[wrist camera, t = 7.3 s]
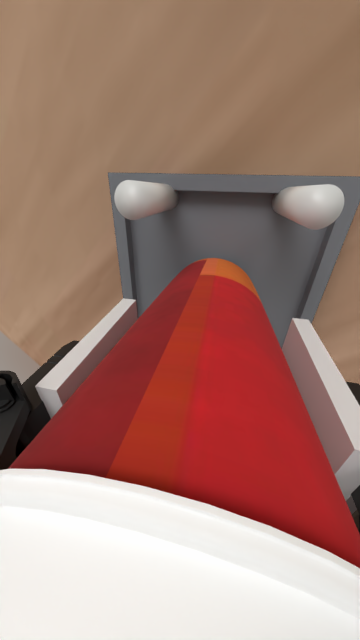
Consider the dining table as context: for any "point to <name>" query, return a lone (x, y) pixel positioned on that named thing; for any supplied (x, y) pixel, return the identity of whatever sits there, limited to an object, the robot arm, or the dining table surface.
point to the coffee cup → (181, 490)
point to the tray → (234, 233)
